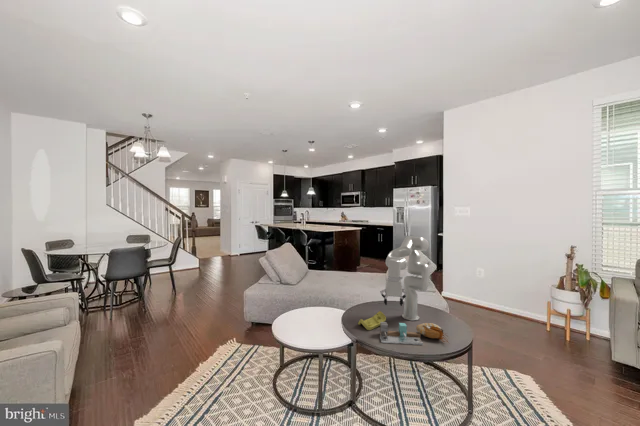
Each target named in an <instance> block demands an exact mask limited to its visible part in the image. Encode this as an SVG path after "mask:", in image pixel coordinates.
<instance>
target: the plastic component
mask: <svg viewBox="0 0 640 426" xmlns="http://www.w3.org/2000/svg"><path fill="white" fill-rule="evenodd" d="M386 320H387V317H386V314H385V313H383V312H382V311H381V310H380V311H378V312H377V313H376V314H374V315H372V317H370V318H367V319H364V320H363V319H362V318H361V319H359V320H358V322H357V324H358V326H361V325H362V326H363V327H364V328H365V329H366V330H367V331H372V330H373V329H376V328H378V327H380V322H386Z"/></svg>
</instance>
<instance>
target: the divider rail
mask: <svg viewBox="0 0 640 426" xmlns="http://www.w3.org/2000/svg"><path fill="white" fill-rule="evenodd" d="M388 325H389V324H388V322H386V321H385V322H380V326H379V327H380V329H379V330H380V331H379V333H380V335H382V336H385V338H386V337H387V336H400V332H399V330H398V331H395V330H389V329H388ZM380 335H379V336H380ZM407 337H418V338H420V339H421V334H420V333H419V332H418V331H417V332H416V331H407Z"/></svg>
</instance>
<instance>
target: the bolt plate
mask: <svg viewBox="0 0 640 426" xmlns="http://www.w3.org/2000/svg"><path fill="white" fill-rule="evenodd" d="M379 339H380V342H381V343H382V344H396V345H397V344H398V345H399V344H400V345H414V346H416V345H417V346H424V343H423V341H422V339H421V337H420V338H418V337H407V338H405V339H404V337H400V336H387V337H386V338H385V336H382V335H379Z"/></svg>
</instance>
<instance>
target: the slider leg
mask: <svg viewBox="0 0 640 426" xmlns="http://www.w3.org/2000/svg"><path fill="white" fill-rule="evenodd" d="M407 327H408V325H407V324H406V322H398V331H399V332H400V337H404V339H405V338H407V332H408V329H407Z"/></svg>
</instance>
